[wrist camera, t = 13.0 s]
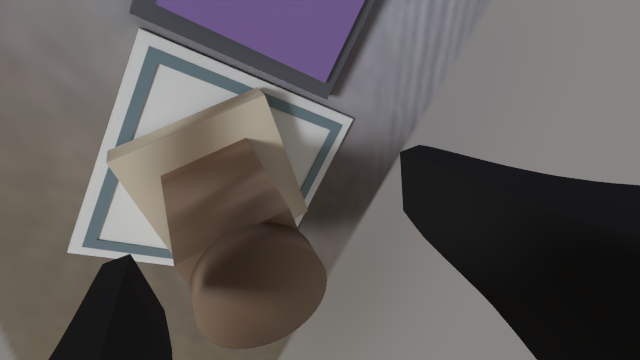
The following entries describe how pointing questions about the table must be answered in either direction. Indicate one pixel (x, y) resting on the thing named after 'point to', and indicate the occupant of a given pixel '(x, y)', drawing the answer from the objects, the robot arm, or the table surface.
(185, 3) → the ink pad
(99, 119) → the table surface
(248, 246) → the stamp
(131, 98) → the form card
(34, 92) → the table surface
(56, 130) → the table surface
